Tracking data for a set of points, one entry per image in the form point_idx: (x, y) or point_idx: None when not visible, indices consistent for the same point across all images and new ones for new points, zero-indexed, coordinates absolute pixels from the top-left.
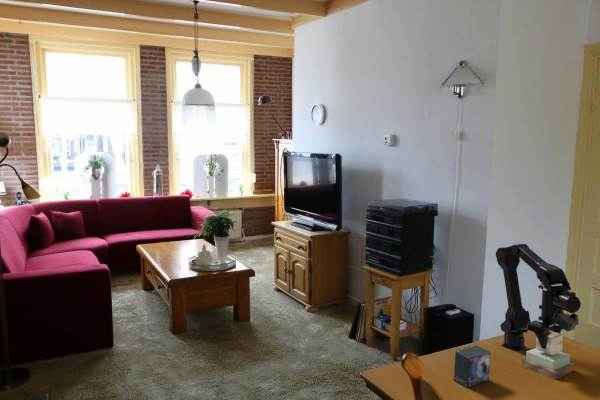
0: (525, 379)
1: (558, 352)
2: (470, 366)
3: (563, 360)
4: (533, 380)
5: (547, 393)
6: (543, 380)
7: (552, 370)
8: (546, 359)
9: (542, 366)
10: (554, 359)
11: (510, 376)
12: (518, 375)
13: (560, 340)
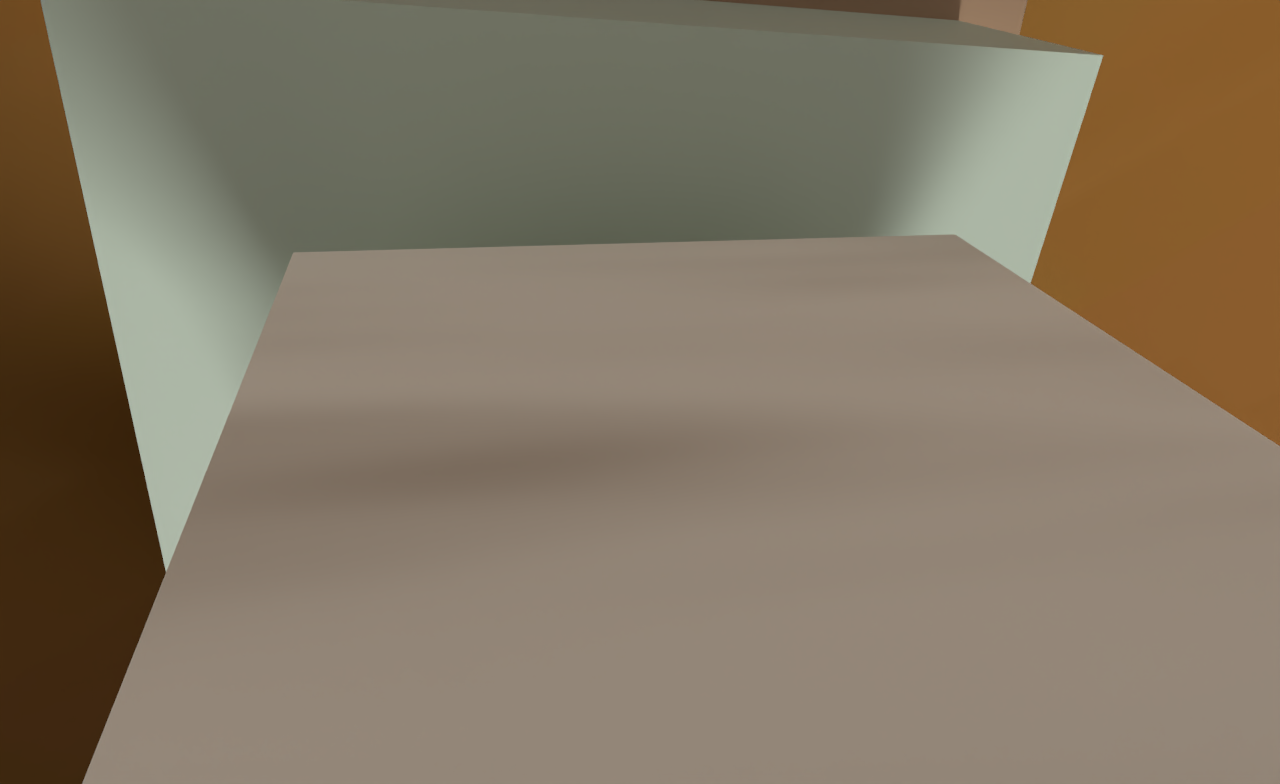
0: (1260, 236)
1: (560, 248)
2: None
3: (511, 3)
4: (1229, 141)
5: None
6: (1132, 31)
7: (964, 20)
8: (1030, 265)
9: None
10: (891, 130)
11: (1273, 405)
12: (1179, 370)
13: (482, 565)
